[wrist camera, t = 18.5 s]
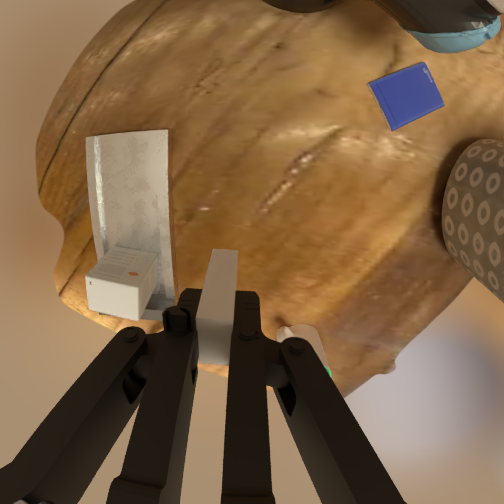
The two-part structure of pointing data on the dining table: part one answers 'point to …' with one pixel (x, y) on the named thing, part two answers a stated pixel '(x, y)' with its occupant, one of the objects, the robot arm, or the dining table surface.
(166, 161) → the tray
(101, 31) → the dining table surface
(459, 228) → the planter
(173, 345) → the robot arm
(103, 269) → the small box
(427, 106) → the hard drive
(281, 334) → the mug
